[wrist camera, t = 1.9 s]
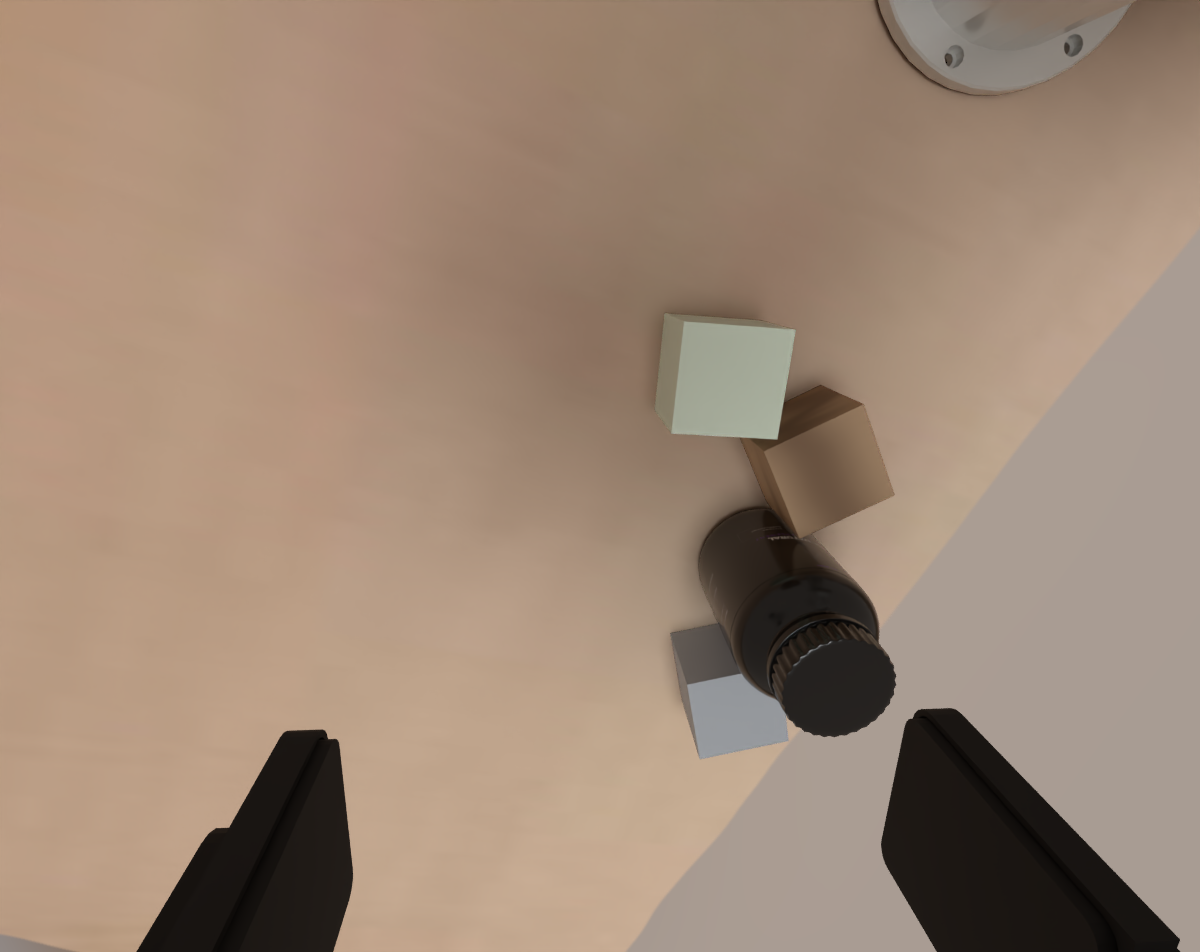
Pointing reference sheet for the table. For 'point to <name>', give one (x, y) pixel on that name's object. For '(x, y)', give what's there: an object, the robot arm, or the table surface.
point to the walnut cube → (819, 462)
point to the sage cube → (722, 376)
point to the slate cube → (722, 697)
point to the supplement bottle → (796, 624)
